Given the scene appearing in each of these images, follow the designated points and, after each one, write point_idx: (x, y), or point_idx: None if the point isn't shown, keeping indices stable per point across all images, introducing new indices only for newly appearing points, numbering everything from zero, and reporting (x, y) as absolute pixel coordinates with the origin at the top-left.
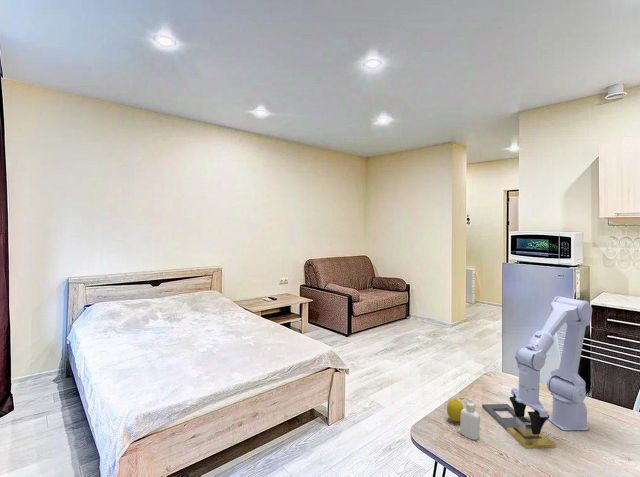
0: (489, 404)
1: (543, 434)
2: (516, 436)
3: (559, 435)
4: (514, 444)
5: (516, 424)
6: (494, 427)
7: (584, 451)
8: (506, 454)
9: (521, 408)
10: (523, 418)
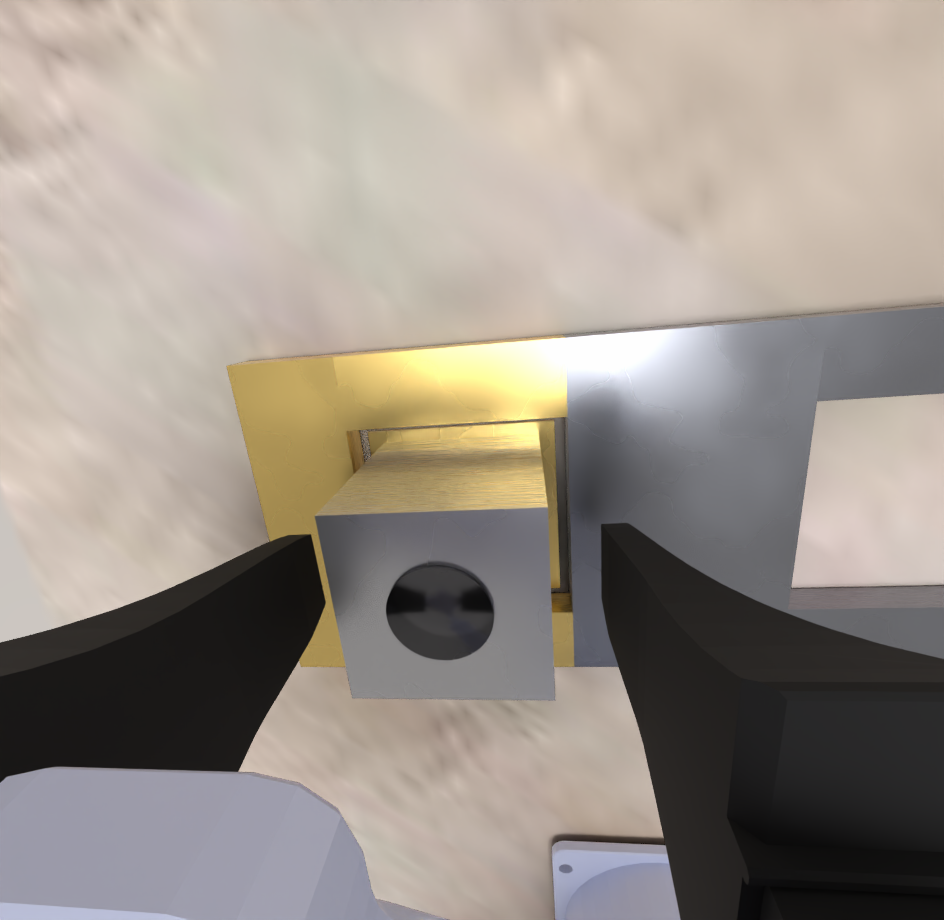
0: None
1: None
2: (385, 360)
3: (491, 776)
4: (301, 280)
5: (534, 464)
6: (646, 200)
7: None
8: (87, 61)
9: (653, 713)
10: (498, 591)
